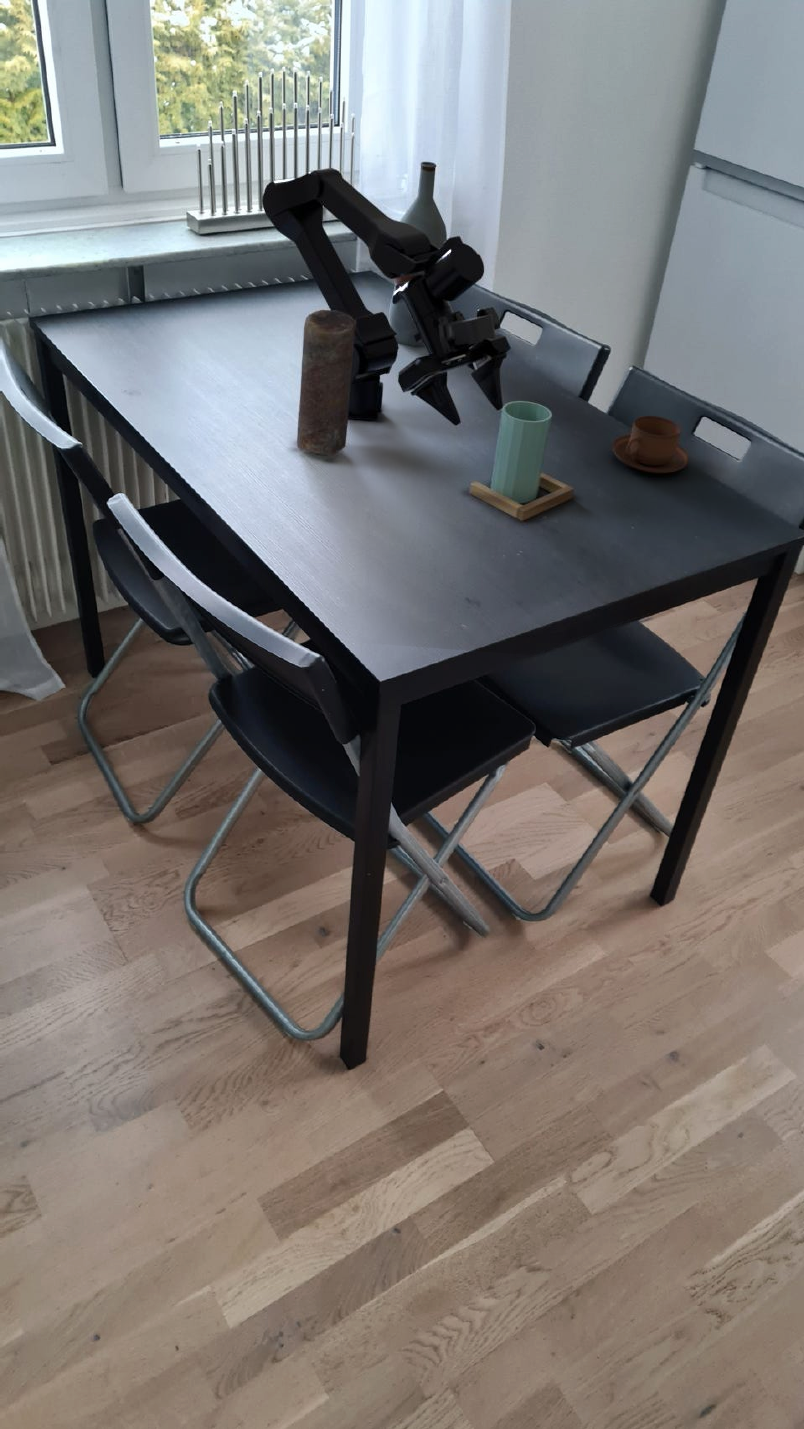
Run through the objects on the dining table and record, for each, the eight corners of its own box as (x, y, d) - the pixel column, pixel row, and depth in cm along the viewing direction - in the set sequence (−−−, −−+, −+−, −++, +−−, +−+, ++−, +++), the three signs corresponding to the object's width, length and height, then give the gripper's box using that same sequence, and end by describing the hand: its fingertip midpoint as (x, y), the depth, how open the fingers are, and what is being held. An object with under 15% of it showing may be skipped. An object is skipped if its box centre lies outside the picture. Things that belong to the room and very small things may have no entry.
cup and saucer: (670, 488, 168) (680, 450, 164) (598, 463, 173) (606, 426, 169) (697, 461, 177) (707, 425, 173) (628, 438, 181) (636, 402, 177)
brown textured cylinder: (354, 446, 170) (362, 315, 157) (336, 465, 164) (343, 331, 152) (308, 435, 172) (312, 305, 159) (288, 454, 166) (292, 320, 154)
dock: (469, 493, 161) (470, 483, 160) (520, 472, 168) (521, 462, 167) (522, 521, 156) (523, 511, 155) (572, 498, 163) (574, 488, 162)
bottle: (379, 339, 205) (392, 163, 187) (398, 325, 212) (413, 153, 193) (426, 351, 203) (444, 174, 184) (443, 336, 210) (463, 163, 191)
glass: (491, 501, 160) (504, 419, 152) (488, 479, 165) (500, 399, 158) (539, 505, 160) (554, 424, 153) (534, 483, 166) (549, 403, 158)
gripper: (420, 301, 148) (470, 408, 150) (511, 278, 159) (556, 378, 161) (375, 339, 157) (422, 441, 159) (463, 315, 168) (507, 410, 170)
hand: (479, 416), depth 162 cm, fingers open, 9 cm apart
